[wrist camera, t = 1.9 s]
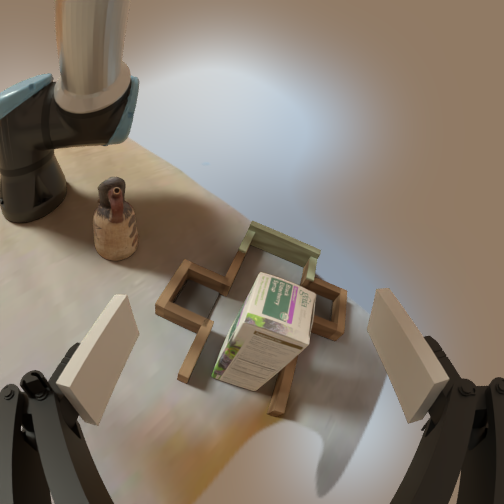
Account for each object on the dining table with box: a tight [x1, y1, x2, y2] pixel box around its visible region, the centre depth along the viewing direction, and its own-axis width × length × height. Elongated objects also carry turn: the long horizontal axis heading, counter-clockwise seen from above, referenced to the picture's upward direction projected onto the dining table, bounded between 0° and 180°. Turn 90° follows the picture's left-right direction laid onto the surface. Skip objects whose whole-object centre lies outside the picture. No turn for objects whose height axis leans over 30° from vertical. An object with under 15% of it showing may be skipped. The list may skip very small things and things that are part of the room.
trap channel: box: [155, 221, 347, 417], centre depth 37 cm, size 27×25×4 cm
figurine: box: [93, 177, 138, 261], centre depth 35 cm, size 7×7×12 cm
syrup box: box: [211, 272, 316, 391], centre depth 27 cm, size 6×6×14 cm
